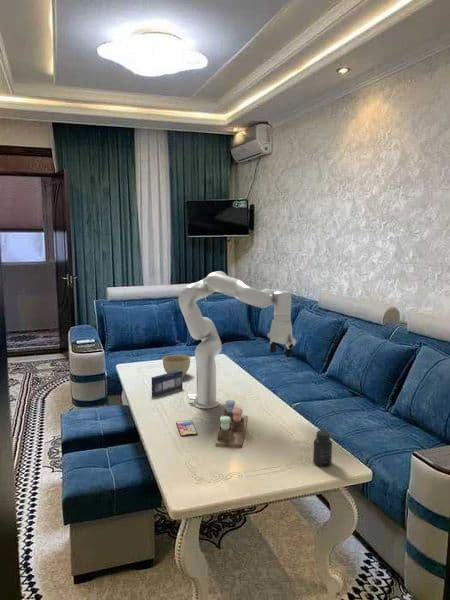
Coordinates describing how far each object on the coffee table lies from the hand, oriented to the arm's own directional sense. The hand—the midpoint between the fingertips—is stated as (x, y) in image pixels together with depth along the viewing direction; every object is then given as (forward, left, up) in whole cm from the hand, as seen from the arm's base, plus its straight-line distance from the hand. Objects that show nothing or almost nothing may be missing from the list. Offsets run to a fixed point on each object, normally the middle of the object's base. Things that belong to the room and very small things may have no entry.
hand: (280, 354), depth 220 cm
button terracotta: (-18, -22, -25) cm, 38 cm away
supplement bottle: (+16, -45, -29) cm, 56 cm away
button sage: (-22, -31, -25) cm, 45 cm away
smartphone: (-40, -22, -29) cm, 54 cm away
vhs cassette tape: (-59, +21, -29) cm, 69 cm away
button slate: (-22, -13, -25) cm, 35 cm away
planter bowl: (-60, +47, -29) cm, 81 cm away
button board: (-20, -22, -28) cm, 41 cm away
